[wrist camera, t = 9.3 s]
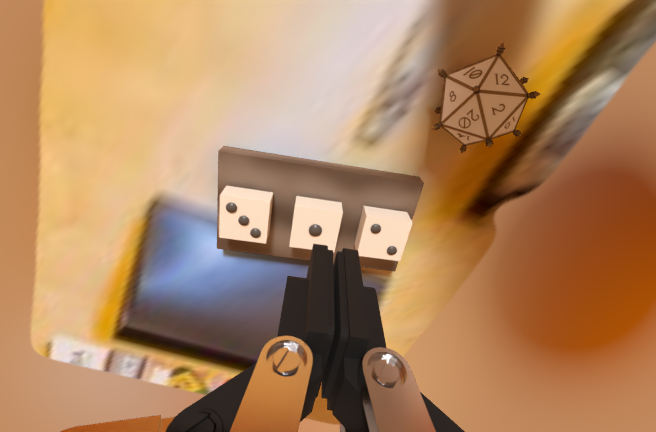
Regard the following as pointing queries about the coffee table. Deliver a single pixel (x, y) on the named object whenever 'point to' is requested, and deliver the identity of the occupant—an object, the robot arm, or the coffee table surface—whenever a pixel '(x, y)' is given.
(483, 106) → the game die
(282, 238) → the brown board
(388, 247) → the two pip cube
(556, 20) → the coffee table surface
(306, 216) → the single pip block
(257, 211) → the three dot tile
